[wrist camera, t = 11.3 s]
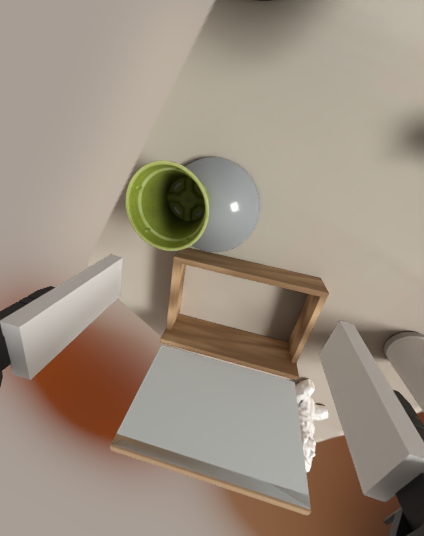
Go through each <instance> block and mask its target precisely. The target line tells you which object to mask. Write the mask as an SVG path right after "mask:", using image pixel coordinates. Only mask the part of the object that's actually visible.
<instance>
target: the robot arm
mask: <svg viewBox="0 0 424 536" xmlns="http://www.w3.org/2000/svg"><path fill="white" fill-rule="evenodd" d="M261 1H269V0H261ZM122 262H123V258H122V257H118V256H115V255H109V256H107V257H106V258H104V259H102V260H101V261H99V262H97V263H96V264H94V265H92V266H91V267H89V268H87V269H86V270H84V271H82V272H81V273H79V274H78V275H76V276H74V277H72V278H71V279H69V280H67V281H66V282H64V283H62V284H61V285H59V286H57V287H52V286H50V287H47V288H44V289H40V290H38V291H36V292H34V293H33V294H31V295H29V296H28V297H25V298H23V299H22V300H20V301H19V302H16V303H15V304H13V305H11V306H10V307H8V308H6V309H4V310H2V311H0V386H1V382H2V377H3V375H2V370H3V369H5V368H6V367H7V366H9V365H10V364H11V368H12V372H13V374H14V375H17V376H20V377H23V378H26V379H29V380H31V379H32V378H33V377H34V376H35V375H36V374H37V373H38V372H39V371H40V370H41V369H43V368H44V367H45V365H47V364H48V363H49V362H50V361H51V360H52V359H53V358H54V357H55V356H56V355H58V353H60V352H61V351H62V350H63V349H64V348H65V347H66V346H67V345H68V344H69V343H70V342H71V341H72V340H74V339H75V338H76V337H77V336H78V335H79V334H80V333H81V332H82V331H83V330H84V329H85V328H86V327H87V326H88V325H90V324H91V323H92V322H93V321H94V320H95V319H96V318H97V317H98V316H99V315H100V314H101V313H102V312H103V311H105V309H107V308H108V307H109V306H110V305H111V304H112V303H113V302H114V301H115V300H116V299H117V298H118V297H119V296H121V283H122ZM319 356H320V359H321V362H322V366H323V369H324V372H325V375H326V378H327V381H328V384H329V387H330V391H331V394H332V397H333V400H334V403H335V406H336V409H337V413H338V416H339V419H340V422H341V425H342V428H343V431H344V435H345V437H346V441H347V444H348V447H349V450H350V453H351V456H352V459H353V463H354V466H355V469H356V472H357V475H358V478H359V482H360V485H361V488H362V491H363V494H364V495H366V496H369V497H372V498H375V499H378V500H381V501H384V502H387V501H388V500H389V499H390V498H392V497H393V496H394V495H396V496H397V498H398V500H399V503H400V505H401V508H399V509H398V510H397V511H395V512H394V513H392V514H391V515H390V516H388V517H387V518H386V519H385V520H384V523H385V524H386V525H388V524H390V523H391V522H393V523H392V527H391V530H390V533H389V536H424V425H423V423H422V422H421V420H419V419H418V415H417V414H416V412H415V411H414V409H413V408H412V406H411V404H410V403H409V402H408V401H407V400H406V399H405V398H404V397H403V396H402V395H401V394H400V393H399V392H398V391H395V390H392V388H391V386H390V385H389V383H388V381H387V380H386V378H385V376H384V375H383V373H382V371H381V370H380V368H379V366H378V365H377V363H376V361H375V360H374V358H373V356H372V355H371V353H370V351H369V350H368V348H367V346H366V345H365V343H364V341H363V340H362V338H361V336H360V335H359V333H358V331H357V330H356V328H355V326H354V324H351V323H348V322H344V321H341V320H339V322H338V324H337V325H336V327H335V329H334V330H333V332H332V334H331V336H330V337H329V339H328V341H327V342H326V344H325V346H324V347H323V349H322V351H321V352H320V354H319Z"/></svg>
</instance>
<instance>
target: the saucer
mask: <svg viewBox="0 0 424 536" xmlns="http://www.w3.org/2000/svg"><path fill="white" fill-rule="evenodd" d="M186 168H187V169H188V170H190V171H191V172H192V173H193V174H194V175H195V176H196V177H197V178H198V179H199V180H200V181H201V182H202V183H203V184H204V185H205V186H206V188H207V190H208V193H209V197H210V203H209V218H208V222H207V225H206V228H205V230H204V232H203V234H202V235H201V237H200V238H199V239H198V240H197V241H196V242H195V243H194V244H192V246H194V247H196V248H198V249H200V250H204V251H208V252H223V251H227V250H230V249H233V248H235V247H237V246H238V245H240V244H241V243H243V242H244V241H245V240H246V239H247V238H248V237H249V236H250V234H251V233H252V231H253V230H254V228H255V226H256V223H257V220H258V217H259V211H260V201H259V194H258V190H257V187H256V185H255V183H254V181H253V179H252V178H251V176H250V175H249V174H248V173H247V172H246V171H245V170H244V169H243V168H242V167H241V166H240V165H238V164H236V163H235V162H232V161H230V160H227V159H224V158H218V157H207V158H202V159H199V160H196V161H194V162H192V163H190V164H189V165H187V166H186ZM181 184H182V183H178V184H177V185H176V186H175V187H174V190H176V189H177V188H178V187H179V186H180V185H181ZM197 187H198V185H197ZM199 189H200V188H199ZM186 201H187V202H189V201H190V199H189V198H187V199H186ZM174 209H175V211H176V212H177V213H178V214H181V213H180V212H179V211H178V210H177V208H176V207H175V206H174ZM201 212H202V210H200V211H199V212H198V213H197V214H195V216H198V215H200V214H201Z"/></svg>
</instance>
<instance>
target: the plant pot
mask: <svg viewBox="0 0 424 536" xmlns="http://www.w3.org/2000/svg"><path fill="white" fill-rule="evenodd" d="M178 183H182V184H181V185H180V186H179V187H178V188H177V189H176V190H174V187H175V186H176V185H177V184H178ZM197 185H198V187H197ZM199 188H200V189H199ZM187 198H189V199H190V201H189V202H187V201H186V199H187ZM209 203H210V197H209V193H208V190H207V188H206V186H205V185H204V184H203V183H202V182H201V181H200V180H199V179H198V178H197V177H196V176H195V175H194V174H193V173H192V172H191V171H190V170H188V169H187V168H186V167H184V166H182V165H180V164H178V163H175V162H171V161H154V162H151V163H148V164H146V165H144V166H143V167H141V168H140V169H139V170H138V171H137V172H136V173H135V174H134V176H133V177H132V179H131V180H130V182H129V185H128V188H127V192H126V203H125V204H126V212H127V216H128V218H129V221H130V223H131V225H132V227H133V229H134V230H135V232H136V233H137V234H138V235H139V236H140V237H141V238H142V239H143V240H144V241H145V242H147V243H148V244H150V245H151V246H153V247H155V248H158V249H161V250H166V251H178V250H182V249H185V248H187V247H189V246H191V245H192V244H194V243H195V242H196V241H197V240H198V239H199V238H200V237H201V235H202V234H203V232H204V230H205V228H206V225H207V222H208V218H209ZM174 206H175V207H176V208H177V210H178V211H179V212H180V213H181V214H178V213H177V212H176V211H175V209H174ZM200 210H202V212H201V214H200V215H198V216H195V214H197V213H198V212H199V211H200Z"/></svg>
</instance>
